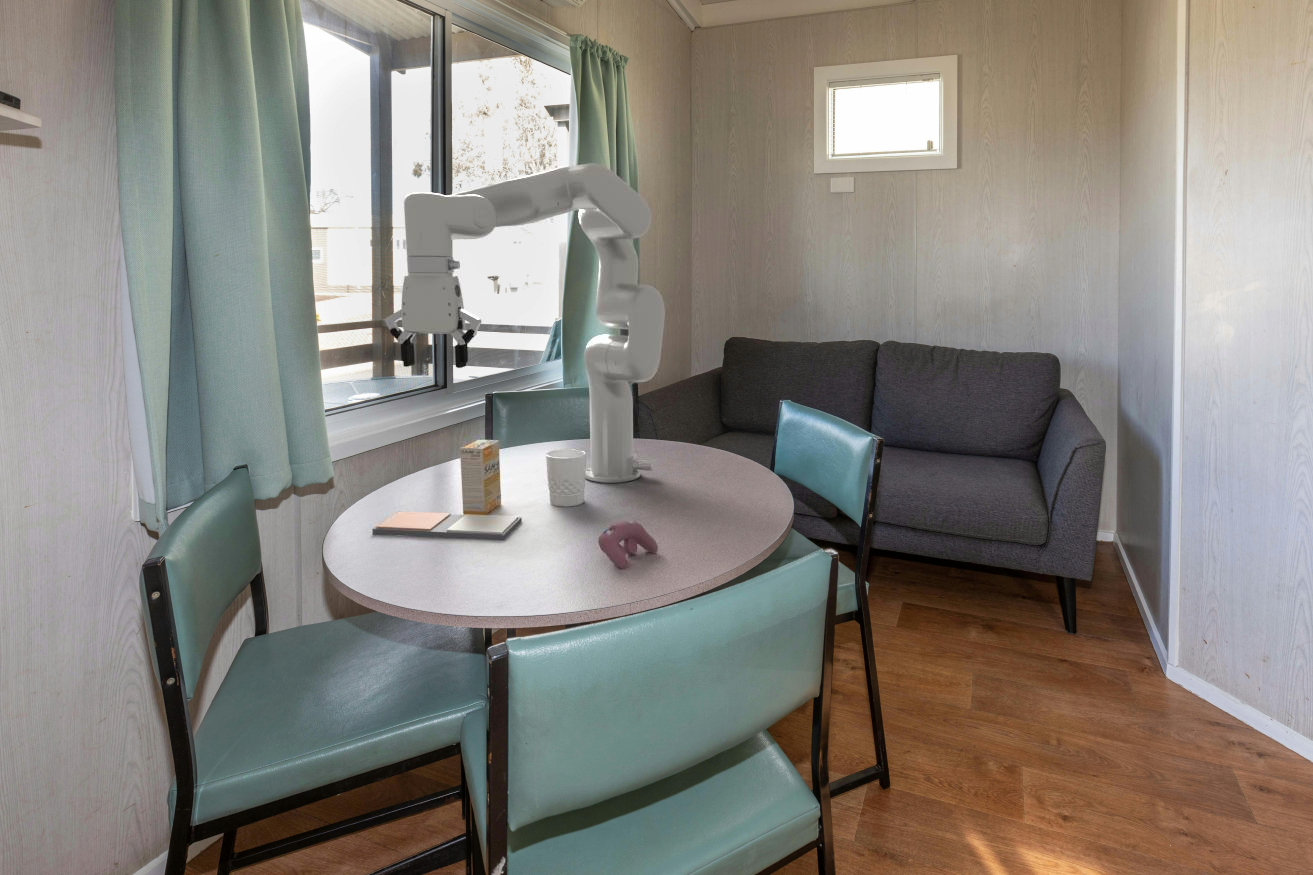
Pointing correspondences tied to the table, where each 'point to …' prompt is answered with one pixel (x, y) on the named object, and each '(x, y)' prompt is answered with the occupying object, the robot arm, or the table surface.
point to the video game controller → (625, 541)
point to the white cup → (566, 476)
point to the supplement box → (480, 476)
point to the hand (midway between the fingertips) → (435, 366)
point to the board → (449, 525)
